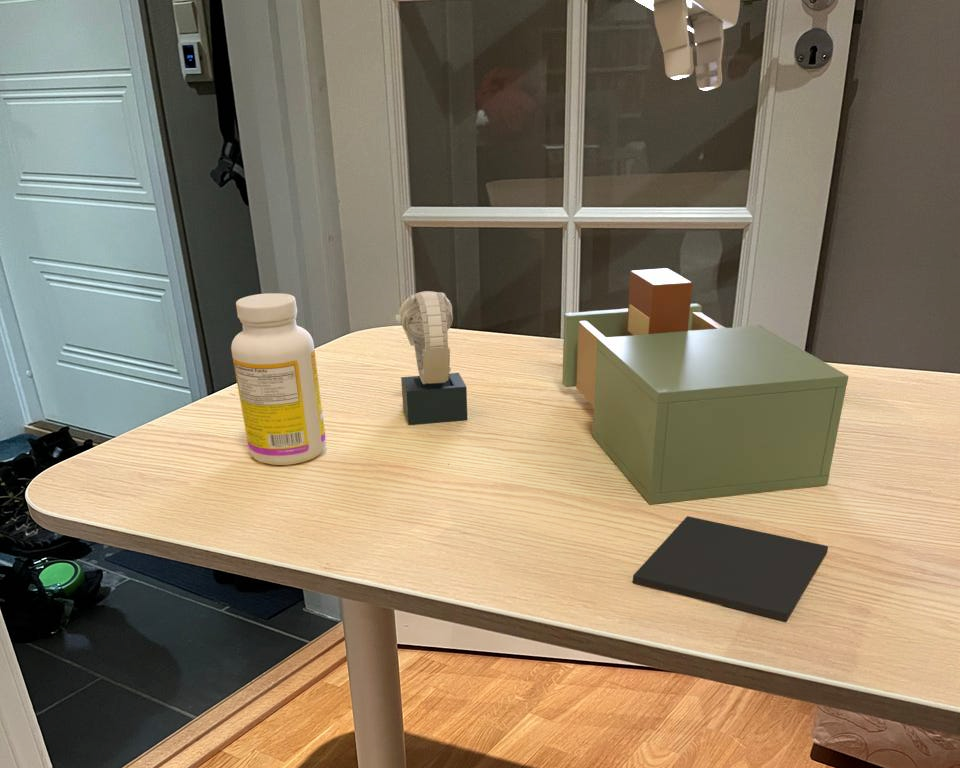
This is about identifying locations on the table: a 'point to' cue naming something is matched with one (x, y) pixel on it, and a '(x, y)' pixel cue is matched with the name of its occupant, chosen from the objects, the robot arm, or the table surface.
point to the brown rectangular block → (658, 302)
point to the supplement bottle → (277, 381)
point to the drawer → (603, 324)
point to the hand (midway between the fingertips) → (695, 83)
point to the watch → (431, 362)
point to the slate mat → (733, 567)
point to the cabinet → (715, 412)
